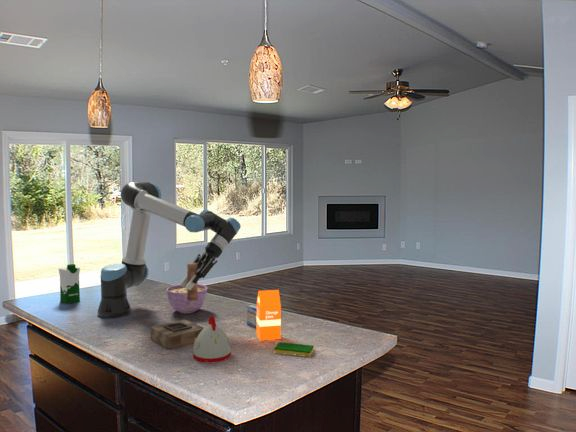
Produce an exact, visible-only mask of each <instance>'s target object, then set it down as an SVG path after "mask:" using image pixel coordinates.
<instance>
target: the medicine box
mask: <svg viewBox="0 0 576 432" xmlns="http://www.w3.org/2000/svg"><path fill="white" fill-rule="evenodd" d="M256 320H257V304H250V305H247V306H246V325H247V326H250V327H253V328H256V329H257V321H256Z"/></svg>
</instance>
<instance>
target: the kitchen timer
mask: <svg viewBox="0 0 576 432" xmlns="http://www.w3.org/2000/svg"><path fill="white" fill-rule="evenodd" d="M207 322H208V325H206V326H205V327H203V328H204V329H203V330H202V331H201V332H200V334H199V335H198V337H197V338H195V342H194V343H193V353H192V356H193V359H194V360H195V361H197V362H199V363H205V364H206V363H207V364H209V363H210V364H211V363H212V362H215V363H220V361H221V362H224V361H226V360H228V359H230V357H231V355H232V348H231V340H230V336H227V334H226V332H225V331H224V330H223V329H222V327H220V326H219V325H217V323H216V319H215V317H214V316H213V315H210V316H209V319H208V321H207Z"/></svg>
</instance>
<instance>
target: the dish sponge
mask: <svg viewBox="0 0 576 432" xmlns="http://www.w3.org/2000/svg"><path fill="white" fill-rule="evenodd" d="M273 349H274V351H273V352H275V353H274V354H278V353H286V354H285V355H287V354H296V355H305V356H310V357H311V355H312V354H311V353H313V352H314V345H311V344H301V343H292V342H291V343H290V342H284V341H283V342H282V341H280V342H279V341H278V343H277V344H276V346H274V348H273ZM312 351H313V352H312ZM296 355H295V356H296ZM305 356H304V357H305Z"/></svg>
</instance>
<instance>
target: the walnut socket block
mask: <svg viewBox="0 0 576 432" xmlns="http://www.w3.org/2000/svg"><path fill="white" fill-rule="evenodd" d="M204 328H205V327H203V326H201V325H200V324H199V325H198V324H196V323H194V322H191V321H190V320H187V319H181V320H176V321H172V322H167V323H162V324H157V325H154V326H150V340H153V341H154V342H156V343H157V344H159V345H160V346H163V347H164V348H166V349H168V350H173V349H177V348H181V347H185V346H187V345H191V344H192V345H194V342H195V338H197V337H198V335H199V334H200V332H201V331H202V330H203V329H204Z"/></svg>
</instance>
